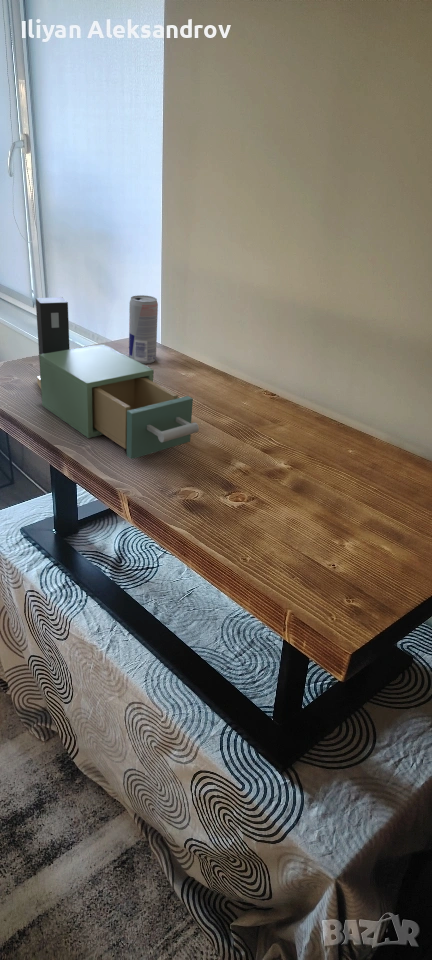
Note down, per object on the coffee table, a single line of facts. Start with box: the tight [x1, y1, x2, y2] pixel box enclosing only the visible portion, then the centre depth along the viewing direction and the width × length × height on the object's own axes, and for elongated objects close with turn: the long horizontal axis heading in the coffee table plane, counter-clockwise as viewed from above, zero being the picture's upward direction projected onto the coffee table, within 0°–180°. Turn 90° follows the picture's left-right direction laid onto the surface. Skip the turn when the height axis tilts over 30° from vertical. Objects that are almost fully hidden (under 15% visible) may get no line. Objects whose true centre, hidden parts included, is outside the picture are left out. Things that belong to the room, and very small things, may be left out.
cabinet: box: [38, 343, 155, 439], centre depth 98 cm, size 14×12×9 cm
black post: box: [35, 296, 71, 390], centre depth 104 cm, size 5×5×15 cm
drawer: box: [92, 377, 200, 460], centre depth 90 cm, size 17×10×7 cm, turn 41°
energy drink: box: [128, 294, 159, 365], centre depth 121 cm, size 5×5×12 cm
